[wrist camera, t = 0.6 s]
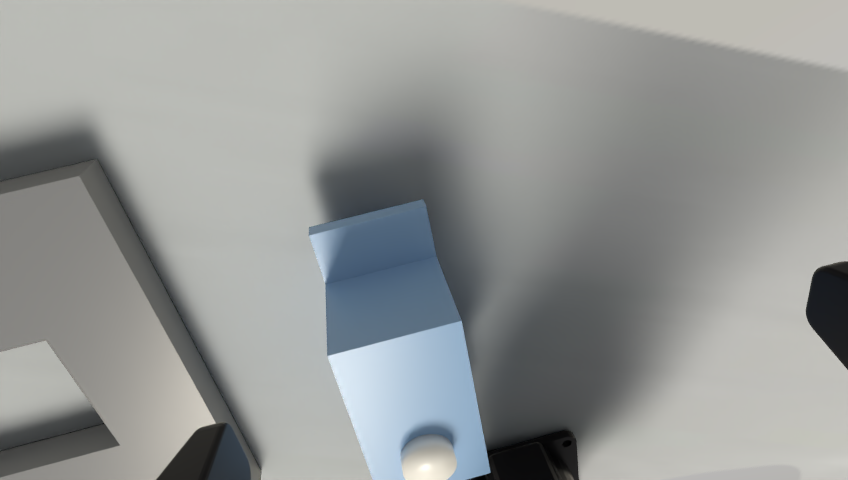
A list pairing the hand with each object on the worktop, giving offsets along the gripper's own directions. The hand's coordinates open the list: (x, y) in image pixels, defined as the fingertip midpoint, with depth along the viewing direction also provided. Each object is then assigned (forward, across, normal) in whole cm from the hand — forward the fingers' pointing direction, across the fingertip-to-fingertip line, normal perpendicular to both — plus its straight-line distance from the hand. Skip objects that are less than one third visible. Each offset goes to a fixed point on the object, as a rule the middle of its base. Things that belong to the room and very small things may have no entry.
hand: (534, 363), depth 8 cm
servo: (+13, +2, +7) cm, 15 cm away
